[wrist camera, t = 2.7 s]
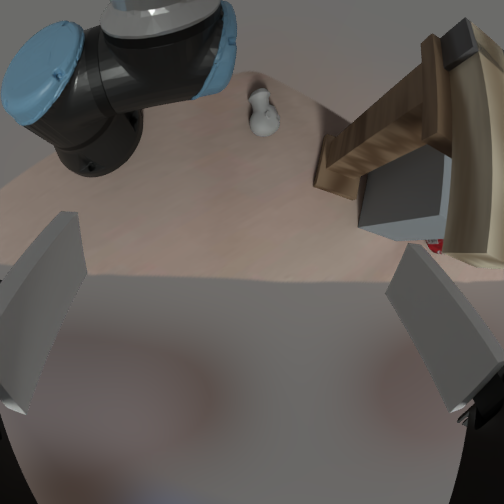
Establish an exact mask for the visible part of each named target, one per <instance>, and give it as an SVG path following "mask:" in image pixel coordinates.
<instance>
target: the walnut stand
mask: <svg viewBox="0 0 504 504" xmlns="http://www.w3.org/2000/svg"><path fill="white" fill-rule="evenodd" d="M421 55H422V63H421V64H420V65H418V66H417V67H416V68H415V69H414V70H412V71H411V72H410V73H409V74H408V75H407V76H405V77H404V78H403V79H402V80H401V81H400V82H399V83H397V84H396V85H395V86H394V87H393V88H391V89H390V90H389V91H388V92H387V93H386V94H385V95H383V97H381V98H380V99H379V100H378V101H377V102H375V103H374V104H373V105H372V106H371V107H370V108H369V109H368V110H366V111H365V112H364V113H363V114H362V115H361V116H359V117H358V118H357V119H356V120H355V121H354V122H353V123H352V124H350V125H349V126H348V127H347V128H346V129H345V130H344V131H343V132H342V133H340V134H339V135H338V136H337V137H335V136H332V135H329V134H327V135H326V136H325V137H324V140H323V145H322V149H321V154H320V158H319V163H318V167H317V172H316V176H315V180H314V185H313V187H316V188H319V189H322V190H325V191H327V192H330V193H333V194H336V195H339V196H342V197H344V198H347V199H350V200H355V199H356V198H357V193H358V188H359V182H360V177H361V176H362V175H364V174H366V173H368V172H370V171H372V170H374V169H377V168H379V167H381V166H383V165H385V164H387V163H389V162H391V161H393V160H395V159H397V158H399V157H401V156H403V155H405V154H407V153H409V152H412V151H414V150H416V149H418V148H420V147H422V146H424V145H426V144H428V145H429V146H431V147H433V148H435V149H436V150H438V151H440V152H441V153H443V154H445V155H446V156H448V157H449V158H451V159H452V103H451V88H450V76H449V71H447V70H446V69H444V66H443V57H442V49H441V42H440V38H439V37H437V36H436V35H434V34H431V35H430V36H428V37H427V38H426V39H425V40H424V41H423V42H422V43H421Z"/></svg>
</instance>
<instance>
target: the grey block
mask: <svg viewBox="0 0 504 504" xmlns="http://www.w3.org/2000/svg"><path fill="white" fill-rule="evenodd" d="M451 166H452V159H451V158H449V157H448V156H446V155H445V154H443V153H441V152H440V151H438V150H436V149H435V148H433V147H431V146H429V145H428V144H426V145H424V146H422V147H420V148H418V149H416V150H414V151H412V152H409V153H407V154H405V155H403V156H401V157H399V158H397V159H395V160H393V161H391V162H389V163H387V164H385V165H383V166H381V167H379V168H377V169H374V170H372V171H370V172H368V178H367V184H366V189H365V195H364V200H363V205H362V210H361V215H360V220H359V224H358V228H361V229H364V230H366V231H369V232H372V233H375V234H378V235H381V236H383V237H386V238H389V239H392V240H394V241H409V240H430V239H444V235H445V228H446V221H447V213H448V204H449V194H450V182H451Z"/></svg>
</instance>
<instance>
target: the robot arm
mask: <svg viewBox="0 0 504 504" xmlns="http://www.w3.org/2000/svg"><path fill="white" fill-rule="evenodd" d="M236 37H237V23H236V16H235V12H234V9H233V7H232V5H231V4H230V3H228V2H226V1H222V0H110V3H109V5H108V6H107V7H106V9H105V10H104V11H103V13H102V15H101V18H100V25H99V26H96V27H93V28H90V29H87V30H83V29H82V27H81V26H80V25H78V24H76V23H75V22H69V21H60V22H56V23H53V24H51V25H49V26H47V27H45V28H43V29H42V30H40V31H39V32H37V33H36V34H35V35H33V36H32V37H31V38H30V39H29V40H28V41H27V42H26V43H25V44H24V45H23V46H22V47H21V49H20V50H19V51H18V53H17V54H16V56H15V57H14V58H13V60H12V61H11V63H10V65H9V67H8V69H7V71H6V73H5V76H4V79H3V82H2V87H1V101H2V105H3V107H4V109H5V110H6V112H7V113H9V114H10V115H11V116H12V117H13V118H14V119H15V120H16V122H17V123H18V124H19V125H22V126H24V127H25V128H27V129H28V130H30V131H32V132H33V133H35V134H36V135H38V136H39V137H41V138H43V139H44V140H46V141H47V142H49V143H51V144H52V145H54V147H55V150H56V152H57V154H58V156H59V159H60V160H61V162H62V163H63V164H64V165H65V166H66V167H67V168H68V169H69V170H71V171H73V172H74V173H76V174H78V175H81V176H84V177H99V176H103V175H106V174H108V173H110V172H112V171H114V170H116V169H117V168H119V167H120V166H121V165H123V164H124V163H125V162H126V161H127V160H128V159H129V158H130V156H131V155H132V154H133V152H134V151H135V149H136V147H137V145H138V143H139V141H140V138H141V135H142V129H143V120H142V115H141V112H140V109H144V108H149V107H153V106H158V105H163V104H169V103H174V102H180V101H186V100H194V99H197V98H198V97H202V96H207V95H212V94H216V93H219V92H221V91H222V90H223V89H224V88H225V87H226V86H227V85H228V83H229V81H230V79H231V77H232V73H233V70H234V65H235V59H236V50H237V46H236V42H235V41H236ZM86 275H87V268H86V263H85V258H84V252H83V246H82V240H81V233H80V226H79V218H78V212H64V211H61V212H60V213H59V214H58V215H57V216H56V217H55V218H54V219H53V220H52V221H51V222H50V223H49V225H48V226H47V227H46V228H45V229H44V230H43V231H42V232H41V233H40V235H39V236H38V237H37V238H36V239H35V240H34V241H33V243H32V244H31V245H30V246H29V247H28V249H27V250H26V251H25V252H24V253H23V255H22V256H21V257H20V258H19V259H18V261H17V262H16V263H15V265H14V266H13V267H12V268H11V270H10V271H9V272H8V274H7V275H6V276H5V278H4V279H3V280H0V400H1V401H2V402H3V403H4V405H6V407H7V408H9V409H12V410H14V411H17V412H20V413H22V414H25V415H27V412H28V409H29V406H30V403H31V400H32V397H33V394H34V391H35V388H36V386H37V383H38V380H39V377H40V374H41V372H42V369H43V367H44V364H45V362H46V359H47V357H48V355H49V352H50V350H51V347H52V345H53V343H54V340H55V338H56V336H57V333H58V331H59V329H60V327H61V325H62V323H63V320H64V318H65V316H66V314H67V312H68V310H69V308H70V306H71V304H72V302H73V299H74V298H75V296H76V294H77V292H78V290H79V288H80V286H81V284H82V282H83V280H84V279H85V277H86ZM385 294H386V295H387V297H388V299H389V301H390V302H391V304H392V306H393V307H394V309H395V311H396V312H397V314H398V316H399V318H400V319H401V321H402V323H403V325H404V326H405V328H406V330H407V332H408V333H409V335H410V337H411V339H412V341H413V342H414V344H415V346H416V348H417V350H418V352H419V354H420V355H421V357H422V359H423V361H424V363H425V365H426V367H427V369H428V371H429V373H430V375H431V377H432V378H433V381H434V382H435V385H436V387H437V389H438V390H439V393H440V395H441V397H442V399H443V401H444V403H445V405H446V408H447V410H448V412H449V413H451V412H454V411H456V410H459V409H462V408H463V407H464V406H465V405H466V404H467V403H468V402H469V401H470V400H471V399H472V398H473V400H474V402H475V403H474V404H473V406H471V407H470V408H469V409H468V410H467V411H466V412H465V413H463V414H462V415H461V416H460V417H459V418H458V421H457V422H458V423H460V422H461V421H462V420H463V419H464V418H465V417H468V418H467V419H466V420H465V421H464V422H463V424H462V425H464V426H467V430H466V436H465V442H464V447H463V452H462V457H461V461H460V466H459V470H458V474H457V478H456V481H455V485H454V489H453V492H452V496H451V499H450V502H449V504H504V350H503V348H502V347H501V345H500V344H499V342H498V341H497V339H496V338H495V336H494V335H493V334H492V332H491V331H490V329H489V328H488V326H487V325H486V324H485V322H484V321H483V320H482V318H481V317H480V315H479V314H478V313H477V312H476V310H475V309H474V307H473V306H472V305H471V304H470V302H469V301H468V300H467V298H466V297H465V296H464V295H463V293H462V292H461V291H460V290H459V288H458V287H457V286H456V285H455V283H454V282H453V281H452V280H451V279H450V277H449V276H448V275H447V274H446V273H445V271H444V270H443V269H442V268H441V267H440V266H439V264H438V263H437V262H436V261H435V260H434V259H433V258H432V257H431V255H430V254H429V253H428V252H427V251H426V250H425V249H424V248H423V247H422V245H419V244H411V243H408V245H407V247H406V249H405V252H404V254H403V256H402V259H401V261H400V263H399V265H398V267H397V270H396V272H395V274H394V276H393V278H392V280H391V282H390V285H389V286H388V289H387V291H386V293H385ZM0 504H38V503H37V501H36V499H35V497H34V496H33V494H32V492H31V490H30V488H29V486H28V484H27V482H26V480H25V478H24V475H23V473H22V471H21V469H20V466H19V464H18V462H17V459H16V457H15V454H14V452H13V450H12V447H11V444H10V441H9V439H8V436H7V433H6V430H5V428H4V424H3V421H2V418H1V415H0Z"/></svg>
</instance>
